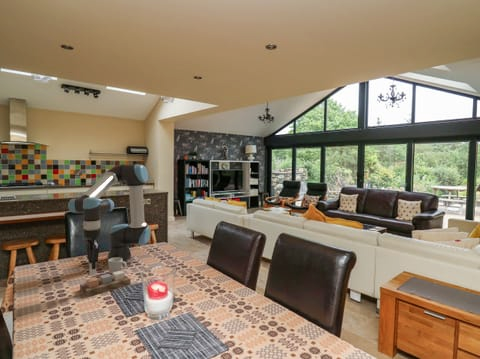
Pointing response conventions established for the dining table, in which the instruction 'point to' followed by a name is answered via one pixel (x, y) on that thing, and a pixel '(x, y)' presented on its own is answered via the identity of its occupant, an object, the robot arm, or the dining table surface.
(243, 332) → the dining table surface
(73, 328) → the dining table surface
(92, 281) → the terracotta key
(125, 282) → the key block
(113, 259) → the cup
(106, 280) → the slate key
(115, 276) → the cream key
